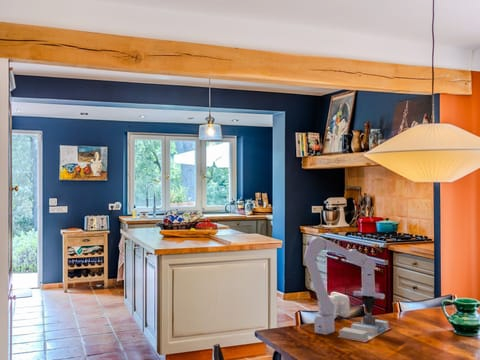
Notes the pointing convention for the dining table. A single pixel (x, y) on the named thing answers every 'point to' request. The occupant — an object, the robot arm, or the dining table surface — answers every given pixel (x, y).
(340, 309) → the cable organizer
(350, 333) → the grey stepped board
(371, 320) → the cord plug
